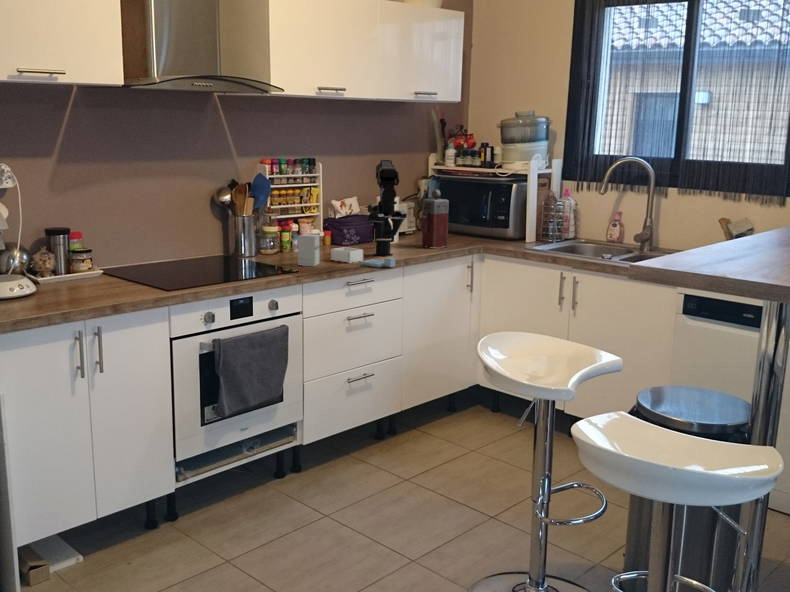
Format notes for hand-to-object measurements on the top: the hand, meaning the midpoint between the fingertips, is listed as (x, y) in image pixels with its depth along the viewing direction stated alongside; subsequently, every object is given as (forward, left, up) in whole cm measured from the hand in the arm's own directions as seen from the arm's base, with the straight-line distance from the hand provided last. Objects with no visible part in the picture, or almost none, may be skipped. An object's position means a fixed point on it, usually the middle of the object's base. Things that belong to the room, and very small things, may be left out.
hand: (387, 236), depth 331 cm
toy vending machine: (-58, -20, -13) cm, 63 cm away
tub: (+1, -22, -13) cm, 26 cm away
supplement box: (+20, -26, -13) cm, 35 cm away
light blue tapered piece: (+1, -3, -13) cm, 13 cm away
